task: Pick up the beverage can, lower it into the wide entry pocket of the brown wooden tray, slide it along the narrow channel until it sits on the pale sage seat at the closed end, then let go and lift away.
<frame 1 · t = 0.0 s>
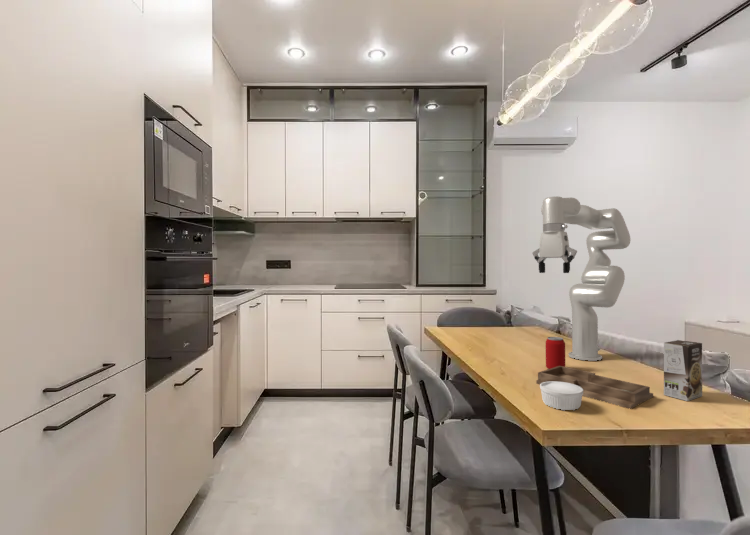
hand: (553, 272, 145), 37 cm above the table, tool pointing down, fingers open, 9 cm apart
coffee box: (683, 396, 112), on the table
ramekin: (561, 405, 106), on the table
brown wooden tray: (591, 389, 118), on the table
beverage can: (555, 370, 141), on the table
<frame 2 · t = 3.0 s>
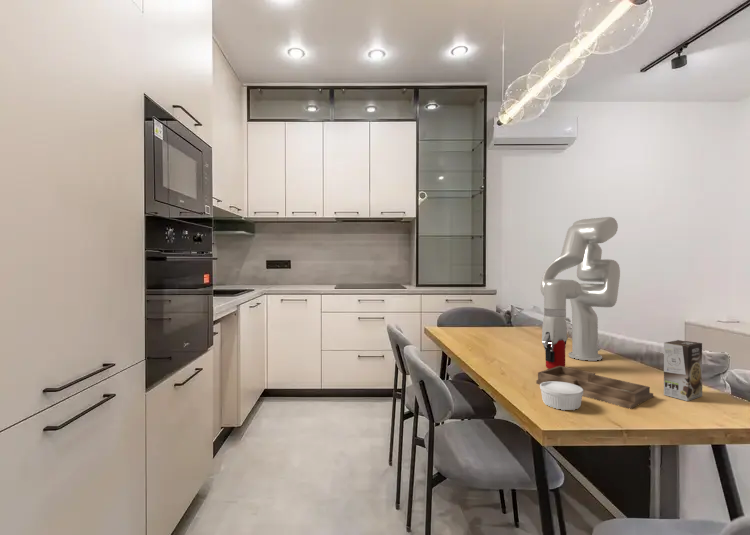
hand: (555, 359, 141), 4 cm above the table, tool pointing down, fingers closed on beverage can, 6 cm apart
beverage can: (555, 370, 141), on the table, touching gripper
everything else where it was.
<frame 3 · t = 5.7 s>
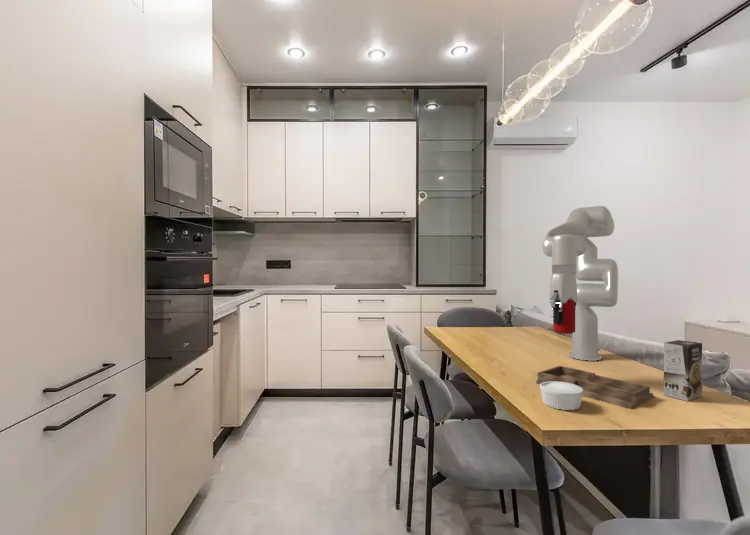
hand: (564, 321, 128), 20 cm above the table, tool pointing down, fingers closed on beverage can, 6 cm apart
beverage can: (564, 333, 128), point 16 cm above the table, touching gripper
everything else where it was.
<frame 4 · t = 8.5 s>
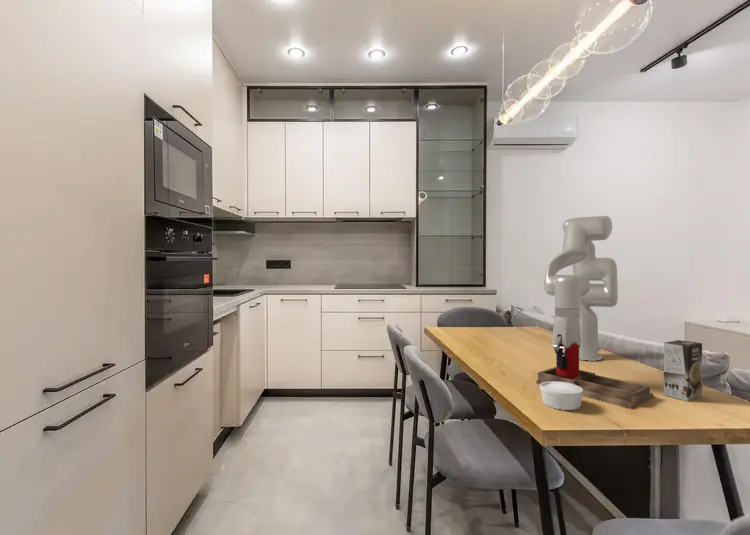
hand: (567, 365, 125), 6 cm above the table, tool pointing down, fingers closed on beverage can, 6 cm apart
beverage can: (567, 377, 125), point 2 cm above the table, touching gripper
everything else where it was.
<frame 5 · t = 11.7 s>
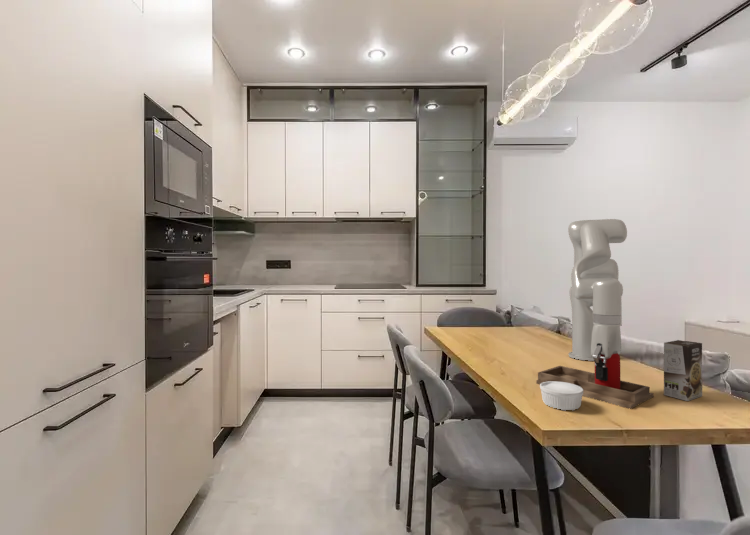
hand: (607, 377, 115), 5 cm above the table, tool pointing down, fingers closed on beverage can, 6 cm apart
beverage can: (607, 389, 115), point 1 cm above the table, touching gripper
everything else where it was.
when the fingers open (5 cm above the table, at t = 14.2 s): beverage can stays where it is, resting on brown wooden tray.
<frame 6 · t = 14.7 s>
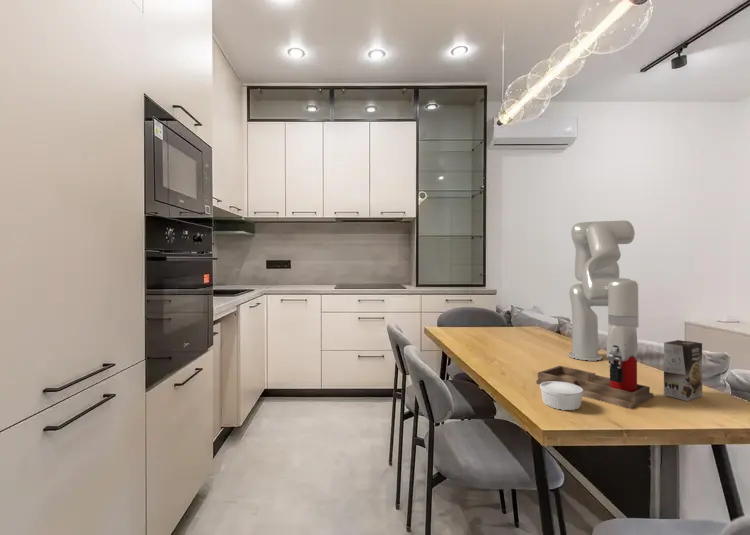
hand: (623, 378, 111), 6 cm above the table, tool pointing down, fingers open, 9 cm apart
beverage can: (623, 394, 111), point 1 cm above the table, touching brown wooden tray
everything else where it was.
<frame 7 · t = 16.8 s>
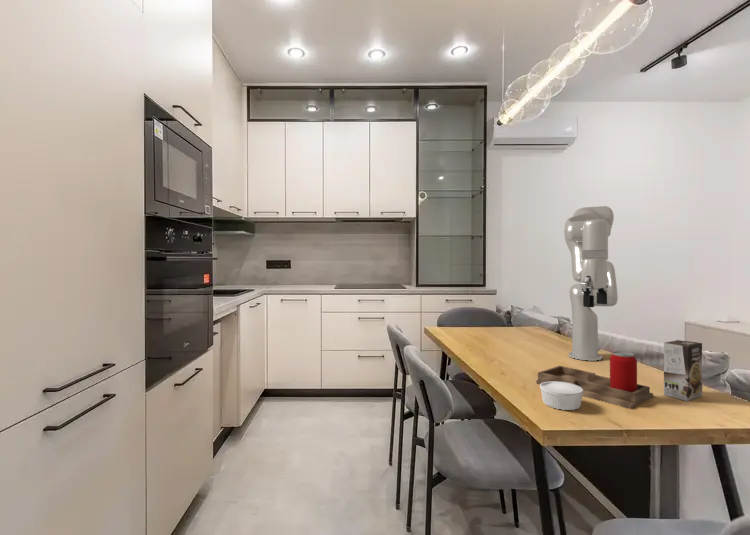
hand: (595, 305, 128), 26 cm above the table, tool pointing down, fingers open, 9 cm apart
nothing on the table moved.
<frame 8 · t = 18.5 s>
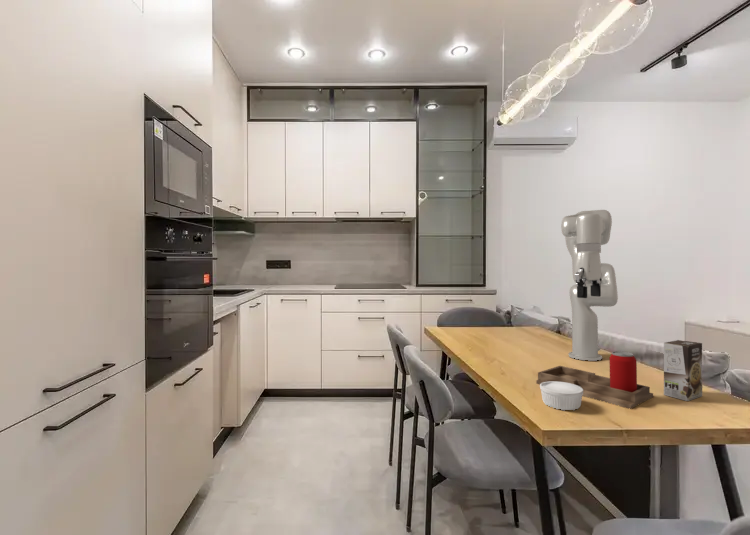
hand: (589, 297, 132), 28 cm above the table, tool pointing down, fingers open, 9 cm apart
nothing on the table moved.
at the end: beverage can 0.2 cm from the target spot on the brown wooden tray, point 1.0 cm above the brown wooden tray's base; beverage can tilted 0°; the gripper is holding nothing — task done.
